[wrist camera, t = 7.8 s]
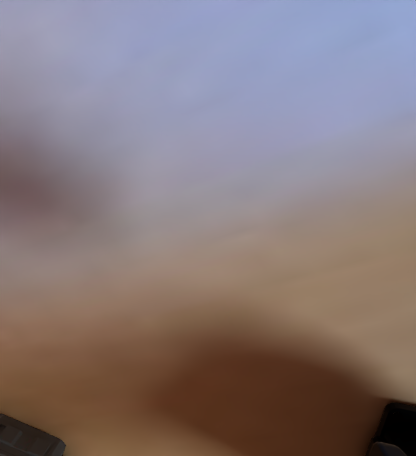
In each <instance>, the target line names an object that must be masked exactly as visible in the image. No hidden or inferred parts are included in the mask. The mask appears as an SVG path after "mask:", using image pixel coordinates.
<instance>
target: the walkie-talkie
mask: <svg viewBox="0 0 416 456" xmlns="http://www.w3.org/2000/svg"><path fill="white" fill-rule="evenodd" d="M65 447H66V445H65V443H64V442H63V441H62V440H61V439H59V438H57V437H55V436H52V435H50V434H48V433H45V432H43V431H41V430H38V429H36V428H34V427H31V426H29V425H27V424H24V423H22V422H20V421H18V420H15V419H13V418H11V417H8V416H6V415H4V414H0V456H62V455H63V452H64V449H65Z"/></svg>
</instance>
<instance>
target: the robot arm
mask: <svg viewBox="0 0 416 456" xmlns="http://www.w3.org/2000/svg"><path fill="white" fill-rule="evenodd" d="M395 412H398V413H397V414H394V413H395ZM366 456H416V407H414V406H410V405H405V404H400V403H390V404H388V405H387V406H386V408H385V410H384V413H383V415H382V418H381V421H380V424H379V426H378V429H377V432H376V435H375V436H374V437H373V438H372V439H371V442H370V445H369V447H368V450H367V453H366Z"/></svg>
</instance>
